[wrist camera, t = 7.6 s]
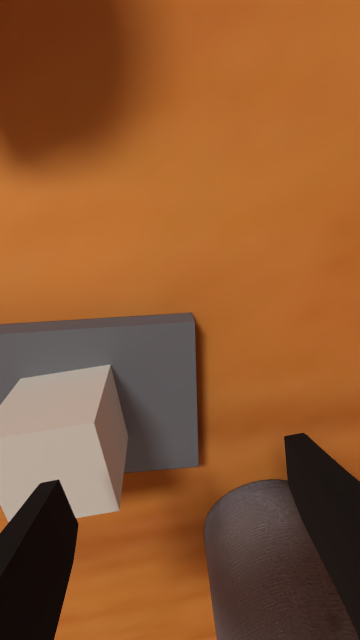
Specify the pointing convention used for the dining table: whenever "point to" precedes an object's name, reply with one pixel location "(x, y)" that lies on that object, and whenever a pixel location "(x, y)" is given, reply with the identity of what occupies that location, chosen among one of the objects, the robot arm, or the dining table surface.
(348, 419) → the dining table surface
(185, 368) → the serving board
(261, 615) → the pillar candle
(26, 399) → the cube
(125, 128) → the dining table surface
